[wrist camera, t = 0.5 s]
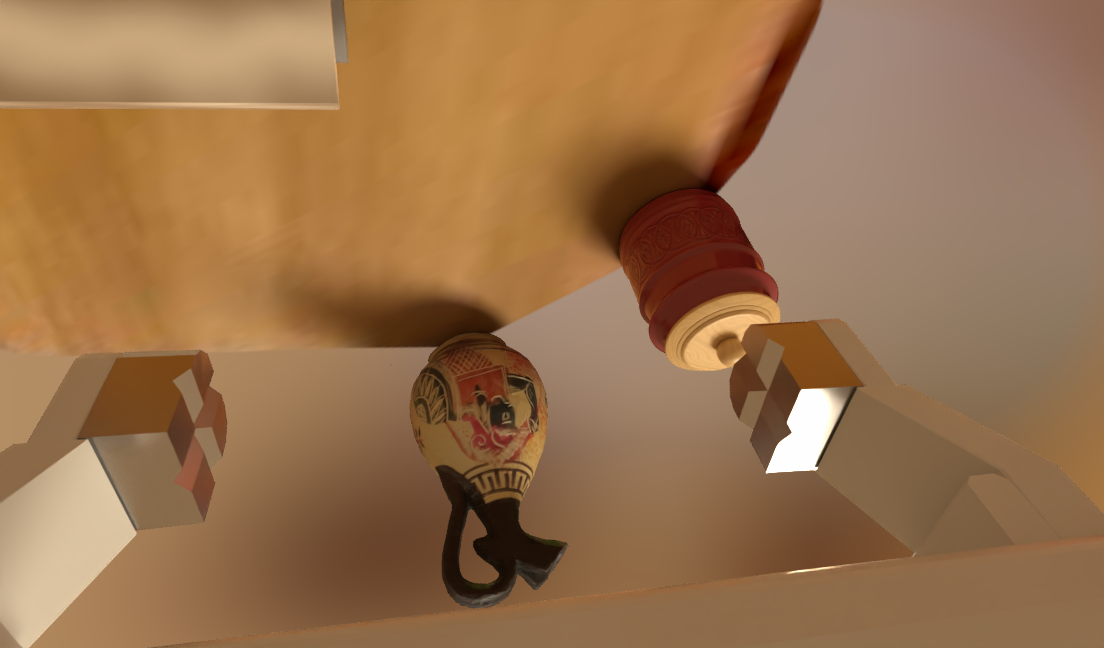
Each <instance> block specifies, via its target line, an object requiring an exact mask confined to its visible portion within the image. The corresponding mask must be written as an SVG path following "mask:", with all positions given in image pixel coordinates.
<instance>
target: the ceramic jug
mask: <svg viewBox="0 0 1104 648" xmlns="http://www.w3.org/2000/svg"><path fill="white" fill-rule="evenodd" d="M428 362H429V363H428V364H427V366H426V367H425V368H424V369H423V370H422V371H421V373H420V375H419V377H418V378H417V380H416V381H415V383H414V385H413V388H412V393H411V400H410V419H411V424H412V427H413V431H414V435H415V438H416V441H417V443H418V445H419V448H420V450H421V452H422V454H423V456H424V457H425V458H426V460H427V462H428V464H429V465H430V466H431V467H432V469H433V470H434V471H435V472H436V474H437V475H438V476H439V477H440V479H441V482H442V485H443V488H444V490H445V492H446V494H447V496H448V499H449V500H450V501H451V504H452V512H451V515H450V520H449V523H448V530H447V534H446V539H445V544H444V548H443V553H442V578H443V581H444V584H445V586H446V588H447V591H448V593H449V594H450V596H451V597H452V598H453V599H454V600H455V602H457V603H459V604H460V605H462V606H467V607H469V608H487V607H491V606H493V605H495V604H498V603H499V602H500V601H502V600H503V599H505V598H506V597H508V596H509V594H510V592H511V590H512V588H513V586H514V584H515V581H516V577H517V574H518V575H520V576H521V577H523V578H524V579H525V581H526V582H527V583H528V584H529V585H530V586H531V587H532V588H533V589H534V590H537V589H538V588H539V587H541V585H542V584H543V583H544V582H545V581H546V580H547V579H548V576H549V575H550V573H551V572H552V571H553V569H554V568H555V566H556V565H557V563H558V562H559V561H560V559H561V558H562V557H563V554H564V553H565V551H566V549H567V547H568V544H567V543H565V542H561V541H557V540H545V539H542V538H538V537H535V536H531V535H529V534H527V533H525V532H524V531H523V530H522V529H521V527H520V524H519V522H518V516H519V509H518V508H519V506H520V503H521V500H522V498H523V496H524V494H525V492H526V490H527V489H528V486H529V484H530V482H531V480H532V478H533V476H534V473H535V469H536V467H537V465H538V462H539V459H540V456H541V454H542V451H543V447H544V443H545V438H546V431H547V417H548V415H547V408H548V404H547V399H546V392H545V389H544V386H543V383H542V381H541V379H540V377H539V375H538V373H537V371H536V369H535V368H534V367H533V365H532V364H531V363H530V361H529V360H528V359H527V358H526V357H524V356H523V355H522V354H520V353H519V352H517V351H516V350H514V349H512V348H509V347H508V346H506V344H505V342H504V341H503V340H501V339H500V338H498V337H497V336H495V335H492V334H487V333H480V332H472V333H465V334H460V335H457V336H455V337H453V338H451V339H449V340H447V341H445V342H444V343H442V344H441V345H440V346H439V347H438V348H436V349H435V350H434V351H433V352H432V353H431V354H430V356H429V360H428ZM470 509H472V510H474V511H475V513H476V514H477V516H478V518H479V519H480V520H481V522H482V523H483V525H484V526H485V528H486V530H487V535H486V536H485V537H482V538H479V539H476V540H475V541H473V547H474V549H475V551H476V553H477V555H479V556H480V557H481V558H482V559H483V560H485V561H486V562H487V563H489V564H490V565H492V566H493V567H494V568H495V569H496V570H497V571H498V572H499V577H498V578H497V579H496V580H495V581H493V582H491V583H489V584H477V583H472V582H469V581H468V580H466V579H464V578H463V577H462V575H461V573H460V568H459V553H460V547H461V540H462V539H461V538H462V533H463V529H464V526H465V522H466V518H467V514H468V510H470Z"/></svg>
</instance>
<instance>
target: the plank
mask: <svg viewBox="0 0 1104 648" xmlns="http://www.w3.org/2000/svg"><path fill="white" fill-rule="evenodd" d="M0 108H52V109H314V110H340V106H339V94H338V82H337V70H336V58H335V46H334V33H333V21H332V9H331V0H0Z"/></svg>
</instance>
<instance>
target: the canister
mask: <svg viewBox="0 0 1104 648" xmlns="http://www.w3.org/2000/svg"><path fill="white" fill-rule="evenodd" d="M619 250H620V260H621V265H622V267H623V270H624V273H625V274H626V276H627V278H628V279H629V280H630V283H631V285H632V288H633V290H634V293H635V296H636V298H637V301H638V303H639V309H640V313H641V315H642V317H643V319H644V320H645V321H646V322H647V323H648V324H649V336H650V339H651V341H652V343H653V344H654V345H655V347H656V348H657V349H659V350H660V351H662V352H664V353H666V356H667V358H668V359H669V361H670V362H671V363H673V364H674V365H676V366H678V367H680V368H683V369H688V370H703V371H712V370H719V369H724V368H728V367H733V366H734V364H735V363H736V362H737V361H738V360H739V359H740V358H742V357H743V356H744V355H745V354H746V352H745V350H744V349H743V347H742V345H741V341H742V338H743V336H744V333H745V331H746V330H747V328H748V327H749V326H750V325H751V324H766V323H779V320H780V309H779V306H778V305H777V301H778V287H777V284H776V282H775V280H774V279H773V278H772V277H771V276H770V275H769V274H768V273H766V272H765V271H764V264H763V261H762V258H761V257H760V255H759V254H758V253H757V252H756V251H755V250H754V248H753V246H752V244H751V243H750V241H749V239H748V238H747V236H746V234H745V232H744V230H743V229H742V227H741V224H740V220H739V218H738V216H737V215H736V213H735V211H734V210H733V208H732V207H731V206H730V205H729V204H728V203H727V202H726V201H725V200H724V199H723V198H721V197H720V196H719V195H717V194H716V193H714V192H711V191H708V190H703V189H684V190H679V191H675V192H671V193H668V194H665V195H663V196H661V197H659V198H657V199H655V200H653V201H651V202H650V203H648V204H647V205H645V206H644V207H643V208H641V209H640V210H639V211H638V212H637V213H636V214H635V215H634V216H633V217H632V218H631V219H630V221H629V222H628V223H627V225H626V227H625V228H624V230H623V232H622V235H621V238H620V243H619Z"/></svg>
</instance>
